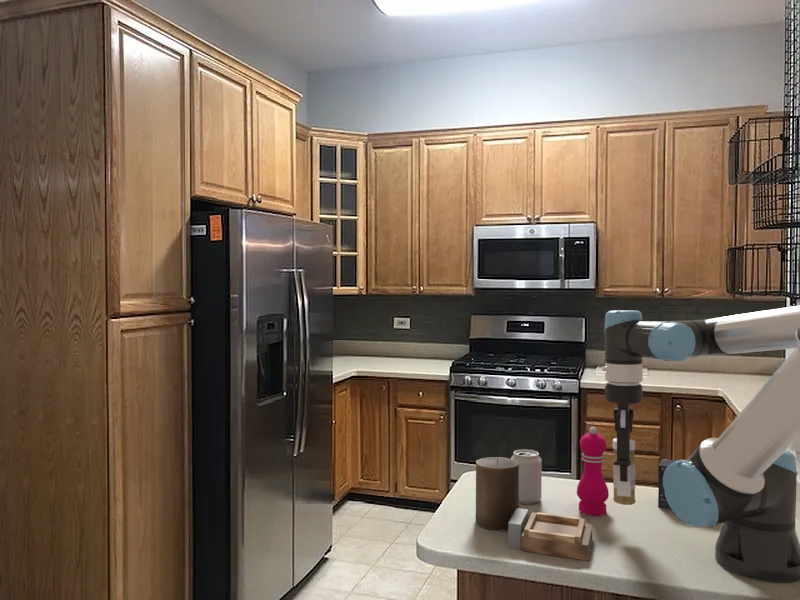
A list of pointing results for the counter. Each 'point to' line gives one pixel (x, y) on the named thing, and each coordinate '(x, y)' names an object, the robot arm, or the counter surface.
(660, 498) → the small box
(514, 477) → the pillar candle
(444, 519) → the counter surface
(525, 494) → the can
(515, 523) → the backstop wall
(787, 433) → the robot arm
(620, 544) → the counter surface
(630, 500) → the sprinkles bottle
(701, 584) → the counter surface
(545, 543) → the socket block
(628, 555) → the counter surface
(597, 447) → the pepper mill
